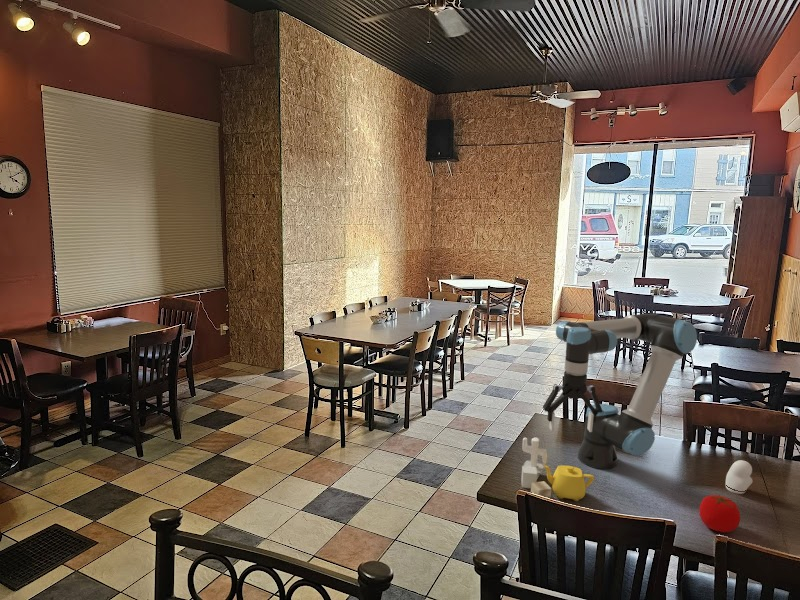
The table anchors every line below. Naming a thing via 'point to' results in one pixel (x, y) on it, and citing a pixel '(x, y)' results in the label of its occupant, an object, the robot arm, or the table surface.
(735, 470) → the white mitten
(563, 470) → the teapot
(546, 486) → the beech block
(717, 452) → the table surface
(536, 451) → the figurine
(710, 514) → the tomato
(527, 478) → the white block
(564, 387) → the robot arm
